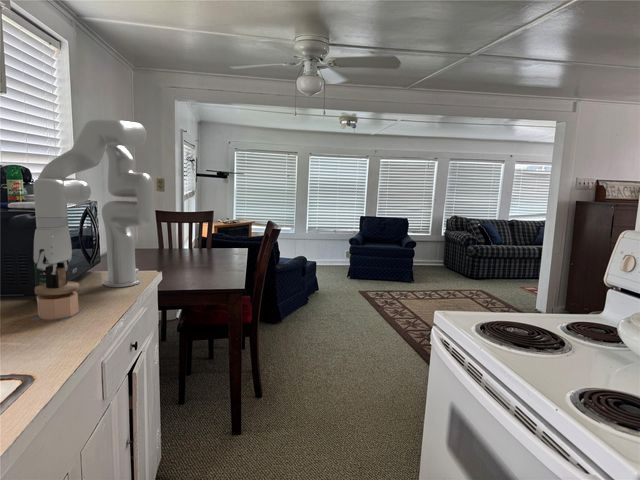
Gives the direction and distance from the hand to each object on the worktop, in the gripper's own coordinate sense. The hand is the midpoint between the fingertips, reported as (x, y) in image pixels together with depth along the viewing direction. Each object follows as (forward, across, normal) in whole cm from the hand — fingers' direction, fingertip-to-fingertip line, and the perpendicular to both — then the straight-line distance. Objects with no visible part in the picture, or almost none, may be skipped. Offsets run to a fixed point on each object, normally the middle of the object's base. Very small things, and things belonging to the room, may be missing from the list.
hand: (57, 285), depth 116 cm
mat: (+9, 0, 0) cm, 9 cm away
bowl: (+9, 0, 0) cm, 9 cm away
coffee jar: (+9, -15, -12) cm, 21 cm away
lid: (+1, 0, 0) cm, 1 cm away
